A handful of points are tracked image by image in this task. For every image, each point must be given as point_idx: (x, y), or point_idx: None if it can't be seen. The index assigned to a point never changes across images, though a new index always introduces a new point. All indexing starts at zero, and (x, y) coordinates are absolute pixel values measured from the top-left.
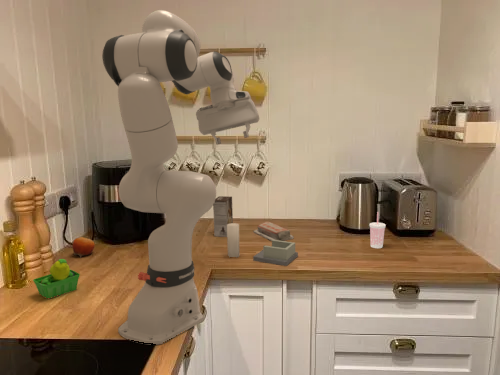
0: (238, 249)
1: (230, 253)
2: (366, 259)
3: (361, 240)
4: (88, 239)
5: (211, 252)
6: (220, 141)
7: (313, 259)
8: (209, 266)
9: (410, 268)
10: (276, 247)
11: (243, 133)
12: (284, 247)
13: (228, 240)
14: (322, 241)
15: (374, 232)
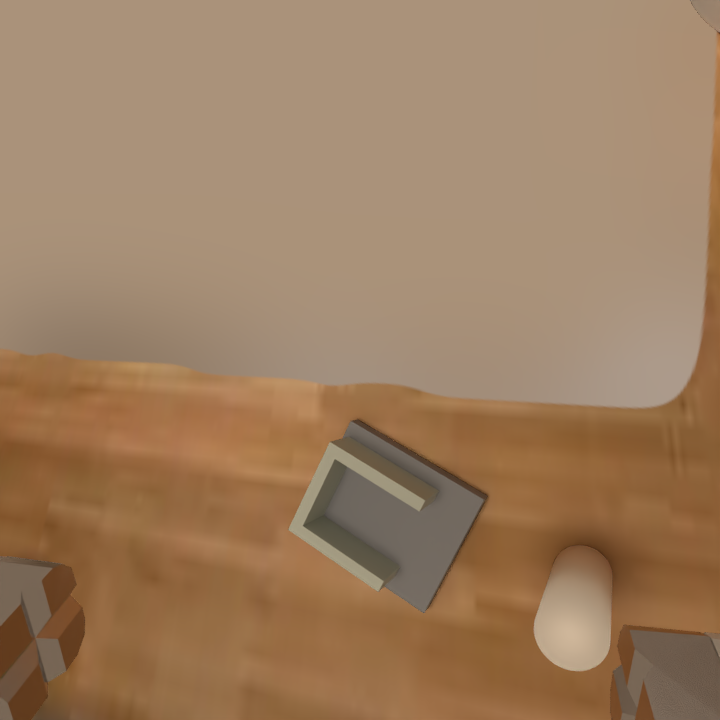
0: (553, 566)
1: (596, 556)
2: (103, 462)
3: (75, 665)
4: None
5: None
6: (624, 706)
7: (257, 481)
8: (698, 441)
9: (19, 375)
10: (368, 475)
11: (18, 604)
12: (341, 539)
13: (603, 584)
14: (198, 688)
15: None
